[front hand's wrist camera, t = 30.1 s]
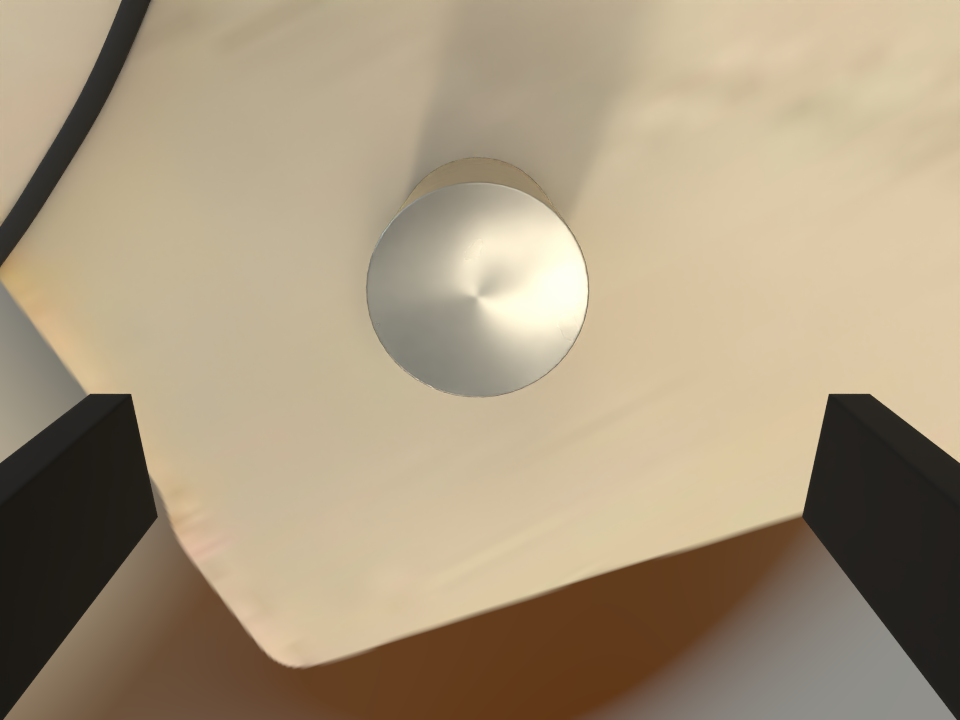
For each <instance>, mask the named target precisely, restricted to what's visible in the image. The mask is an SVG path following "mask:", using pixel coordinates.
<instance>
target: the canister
mask: <svg viewBox="0 0 960 720" xmlns="http://www.w3.org/2000/svg"><path fill="white" fill-rule="evenodd" d="M366 292H367V304H368V310H369V315H370V318H371V321H372V325H373V328H374V330H375V332H376V334H377V336H378V338H379V340H380V342H381V344H382V345H383V347H384V348H385V350H386V351H387V353H388V354H389V355H390V356H391V357H392V359H393V360H394V361H395V362H396V363H397V364H398V365H399V366H400V367H401V368H402V369H403V370H404V371H405V372H407V373H408V374H409V375H411V376H412V377H414V378H415V379H416V380H418V381H420V382H422V383H424V384H425V385H427V386H429V387H431V388H434V389H437V390H439V391H442V392H445V393H449V394H453V395H458V396H465V397H490V396H498V395H502V394H507V393H511V392H513V391H516V390H519V389H522V388H524V387H526V386H528V385H530V384H532V383H534V382H536V381H537V380H539V379H540V378H542V377H543V376H545V375H546V374H547V373H549V372H550V371H551V370H552V369H553V368H554V367H556V366H557V365H558V364H559V362H560V361H561V360H562V359H563V358H564V357H565V356H566V355H567V353H568V352H569V350H570V349H571V347H572V346H573V345H574V343H575V341H576V339H577V337H578V335H579V333H580V331H581V328H582V326H583V323H584V320H585V316H586V312H587V307H588V299H589V279H588V272H587V267H586V262H585V259H584V256H583V253H582V250H581V248H580V246H579V244H578V242H577V240H576V238H575V236H574V234H573V233H572V232H571V230H570V229H569V227H568V226H567V224H566V223H565V221H564V220H563V219H562V217H561V216H560V215H559V213H558V212H557V210H556V209H555V208H554V206H553V205H552V203H551V202H550V201H549V199H548V198H547V197H546V195H545V194H544V192H543V191H542V190H541V188H540V187H539V186H538V185H537V184H536V183H535V182H534V180H533V179H531V178H530V177H529V176H528V175H527V174H525V173H524V172H522V171H521V170H519V169H518V168H516V167H514V166H512V165H510V164H508V163H505V162H502V161H499V160H495V159H489V158H467V159H461V160H457V161H453V162H450V163H448V164H446V165H443V166H441V167H440V168H438V169H436V170H434V171H433V172H432V173H430V174H429V175H428V176H426V177H425V178H424V179H423V180H422V181H421V182H420V183H419V184H418V185H417V186H416V188H415V189H414V190H413V192H412V193H411V195H410V196H409V197H408V199H407V200H406V201H405V203H404V204H403V206H402V207H401V208H400V210H399V211H398V212H397V214H396V215H395V217H394V218H393V219H392V221H391V222H390V223H389V225H388V226H387V228H386V229H385V230H384V232H383V233H382V235H381V237H380V239H379V241H378V242H377V244H376V246H375V249H374V252H373V254H372V257H371V260H370V264H369V269H368V273H367V284H366Z"/></svg>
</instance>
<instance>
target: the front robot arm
mask: <svg viewBox="0 0 960 720" xmlns="http://www.w3.org/2000/svg"><path fill="white" fill-rule="evenodd" d="M149 2H150V0H122V1H121V4H120V6H119V9H118V11H117V14H116V16H115V19H114V21H113V24H112V26H111V29H110V31H109V34H108V36H107V38H106V41H105V43H104V45H103V48H102V50H101V52H100V55H99V57H98V59H97V61H96V63H95V66H94V68H93V70H92V72H91V74H90V76H89V78H88V80H87V82H86V84H85V86H84V88H83V90H82V92H81V94H80V96H79V98H78V100H77V102H76V104H75V106H74V107H73V109H72V111H71V113H70V115H69V116H68V118H67V120H66V122H65V123H64V125H63V127H62V129H61V130H60V132H59V134H58V135H57V137H56V139H55V140H54V142H53V144H52V145H51V147H50V149H49V150H48V152H47V154H46V155H45V157H44V159H43V160H42V162H41V163H40V165H39V167H38V168H37V170H36V172H35V173H34V175H33V177H32V178H31V180H30V182H29V183H28V185H27V186H26V188H25V190H24V191H23V193H22V195H21V196H20V198H19V199H18V201H17V202H16V204H15V206H14V207H13V209H12V210H11V212H10V213H9V215H8V216H7V218H6V219H5V221H4V222H3V224H2V225H1V227H0V267H1V265H2V264H3V262H4V261H5V260H6V258H7V257H8V256H9V254H10V253H11V251H12V250H13V249H14V247H15V246H16V244H17V243H18V242H19V240H20V239H21V237H22V236H23V235H24V233H25V232H26V230H27V229H28V227H29V226H30V224H31V223H32V221H33V220H34V219H35V217H36V216H37V214H38V212H39V211H40V209H41V208H42V206H43V205H44V203H45V202H46V200H47V198H48V197H49V195H50V194H51V192H52V190H53V189H54V187H55V186H56V184H57V182H58V181H59V179H60V178H61V176H62V174H63V173H64V171H65V170H66V168H67V166H68V165H69V163H70V162H71V160H72V158H73V157H74V155H75V153H76V152H77V150H78V149H79V147H80V145H81V144H82V142H83V140H84V139H85V137H86V135H87V134H88V132H89V130H90V129H91V127H92V125H93V123H94V122H95V120H96V118H97V116H98V114H99V113H100V111H101V109H102V107H103V105H104V103H105V101H106V99H107V98H108V96H109V94H110V92H111V90H112V88H113V86H114V84H115V81H116V79H117V77H118V75H119V73H120V71H121V69H122V67H123V64H124V62H125V60H126V58H127V55H128V53H129V51H130V49H131V46H132V44H133V42H134V39H135V37H136V34H137V32H138V30H139V27H140V25H141V22H142V20H143V17H144V15H145V13H146V10H147V8H148V5H149ZM157 517H158V516H157V511H156V507H155V502H154V498H153V493H152V488H151V484H150V479H149V475H148V470H147V465H146V461H145V456H144V451H143V447H142V442H141V438H140V433H139V428H138V424H137V419H136V415H135V410H134V405H133V401H132V396H131V394H90V395H88V396H87V397H86V398H84V399H83V400H82V401H81V402H79V403H78V404H77V405H75V406H74V407H73V408H71V409H70V410H69V411H68V412H66V413H65V414H64V415H62V416H61V417H60V418H58V419H57V420H56V421H55V422H53V423H52V424H51V425H49V426H48V427H47V428H45V429H44V430H43V431H41V432H40V433H39V434H38V435H36V436H35V437H34V438H32V439H31V440H30V441H28V442H27V443H26V444H25V445H23V446H22V447H21V448H19V449H18V450H17V451H15V452H14V453H13V454H12V455H10V456H9V457H8V458H6V459H5V460H4V461H2V462H1V463H0V720H3V719H4V718H5V717H6V715H7V714H8V713H9V711H10V710H11V709H12V707H13V706H14V705H15V703H16V702H17V701H18V700H19V698H20V697H21V696H22V694H23V693H24V692H25V690H26V689H27V688H28V686H29V685H30V684H31V683H32V681H33V680H34V679H35V677H36V676H37V675H38V673H39V672H40V671H41V669H42V668H43V667H44V665H45V664H46V663H47V661H48V660H49V659H50V658H51V656H52V655H53V654H54V652H55V651H56V650H57V648H58V647H59V646H60V644H61V643H62V642H63V641H64V639H65V638H66V637H67V635H68V634H69V633H70V631H71V630H72V629H73V627H74V626H75V625H76V623H77V622H78V621H79V620H80V618H81V617H82V616H83V614H84V613H85V612H86V610H87V609H88V608H89V606H90V605H91V604H92V603H93V601H94V600H95V599H96V597H97V596H98V595H99V593H100V592H101V591H102V589H103V588H104V587H105V585H106V584H107V583H108V581H109V580H110V579H111V578H112V576H113V575H114V574H115V572H116V571H117V570H118V568H119V567H120V566H121V564H122V563H123V562H124V561H125V559H126V558H127V557H128V555H129V554H130V553H131V551H132V550H133V549H134V547H135V546H136V545H137V543H138V542H139V541H140V540H141V538H142V537H143V536H144V534H145V533H146V532H147V530H148V529H149V528H150V526H151V525H152V524H153V522H154V521H155V520H156V519H157ZM802 517H803V519H804V520H805V521H806V523H807V524H808V525H809V526H810V528H811V529H812V530H813V532H814V533H815V534H816V536H817V537H818V538H819V540H820V541H821V542H822V543H823V545H824V546H825V547H826V549H827V550H828V551H829V553H830V554H831V555H832V557H833V558H834V559H835V561H836V562H837V563H838V564H839V566H840V567H841V568H842V570H843V571H844V572H845V574H846V575H847V576H848V578H849V579H850V580H851V582H852V583H853V584H854V585H855V587H856V588H857V589H858V591H859V592H860V593H861V595H862V596H863V597H864V599H865V600H866V601H867V602H868V604H869V605H870V606H871V608H872V609H873V610H874V612H875V613H876V614H877V616H878V617H879V618H880V620H881V621H882V622H883V623H884V625H885V626H886V627H887V629H888V630H889V631H890V633H891V634H892V635H893V637H894V638H895V639H896V640H897V642H898V643H899V644H900V646H901V647H902V648H903V650H904V651H905V652H906V654H907V655H908V656H909V658H910V659H911V660H912V662H913V663H914V664H915V665H916V667H917V668H918V669H919V671H920V672H921V673H922V675H923V676H924V677H925V679H926V680H927V681H928V682H929V684H930V685H931V686H932V688H933V689H934V690H935V692H936V693H937V694H938V696H939V697H940V698H941V699H942V701H943V702H944V703H945V705H946V706H947V707H948V709H949V710H950V711H951V713H952V714H953V715H954V717H955V718H956V719H957V720H960V463H959V462H958V461H956V460H955V459H954V458H952V457H951V456H950V455H948V454H947V453H946V452H945V451H943V450H942V449H941V448H939V447H938V446H937V445H935V444H934V443H933V442H932V441H930V440H929V439H928V438H926V437H925V436H924V435H922V434H921V433H920V432H919V431H917V430H916V429H915V428H913V427H912V426H911V425H909V424H908V423H907V422H905V421H904V420H903V419H902V418H900V417H899V416H898V415H896V414H895V413H894V412H892V411H891V410H890V409H889V408H887V407H886V406H885V405H883V404H882V403H881V402H879V401H878V400H877V399H876V398H874V397H873V396H872V395H870V394H829V396H828V401H827V405H826V410H825V415H824V419H823V424H822V428H821V433H820V438H819V442H818V447H817V451H816V456H815V461H814V465H813V470H812V475H811V479H810V484H809V488H808V493H807V498H806V502H805V507H804V511H803V516H802Z"/></svg>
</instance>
